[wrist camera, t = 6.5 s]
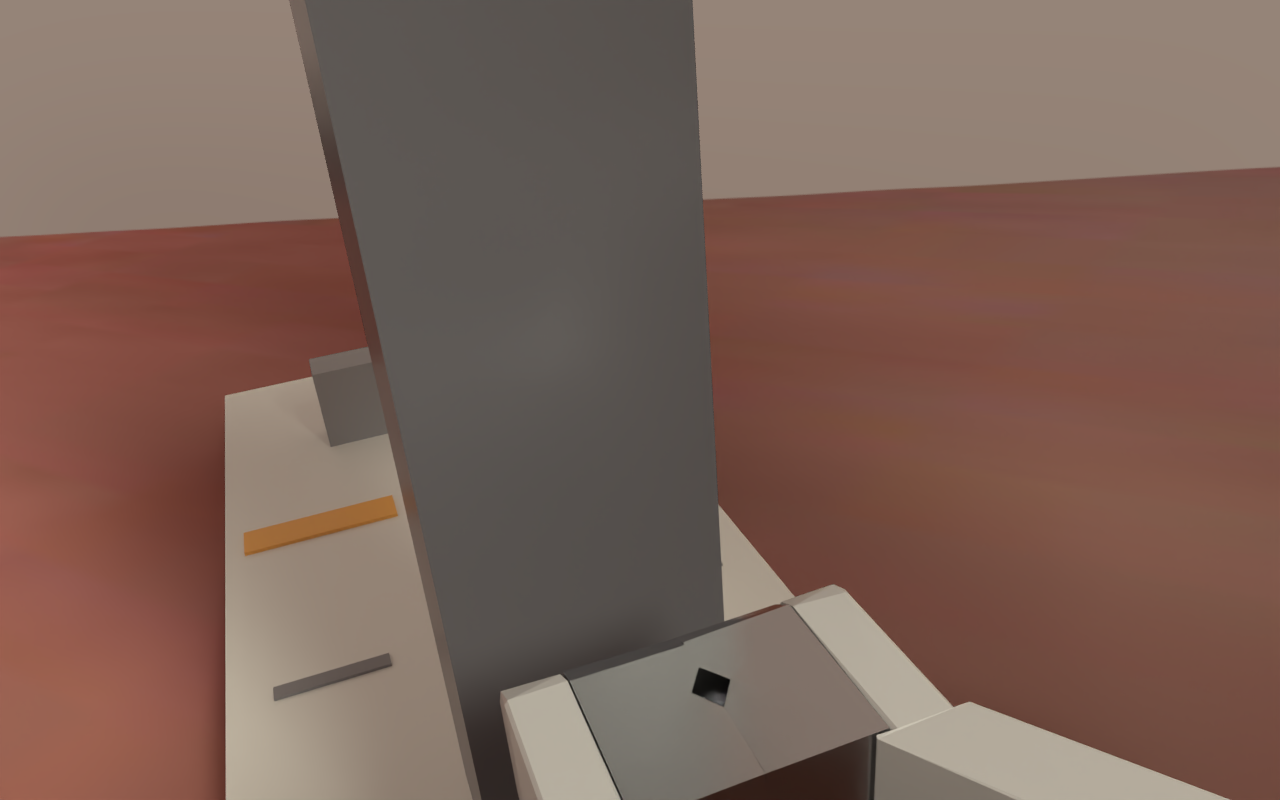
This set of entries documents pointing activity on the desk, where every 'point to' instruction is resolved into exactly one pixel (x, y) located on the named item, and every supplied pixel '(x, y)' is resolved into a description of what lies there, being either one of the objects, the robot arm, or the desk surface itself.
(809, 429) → the desk surface
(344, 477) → the console
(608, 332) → the fader tab
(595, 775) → the robot arm
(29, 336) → the desk surface
